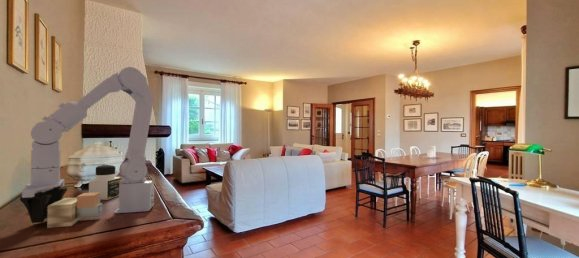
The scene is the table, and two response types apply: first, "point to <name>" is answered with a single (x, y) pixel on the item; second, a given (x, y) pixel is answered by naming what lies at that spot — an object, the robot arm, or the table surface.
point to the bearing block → (62, 213)
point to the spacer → (88, 199)
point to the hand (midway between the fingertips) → (44, 218)
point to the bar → (83, 212)
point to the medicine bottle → (105, 182)
